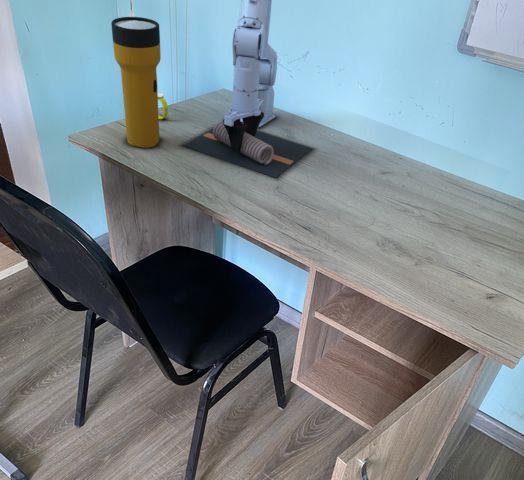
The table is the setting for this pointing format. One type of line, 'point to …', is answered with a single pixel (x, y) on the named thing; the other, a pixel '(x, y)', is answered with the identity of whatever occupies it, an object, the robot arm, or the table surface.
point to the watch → (161, 98)
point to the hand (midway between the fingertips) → (242, 146)
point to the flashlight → (138, 76)
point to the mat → (281, 161)
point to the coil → (246, 145)
